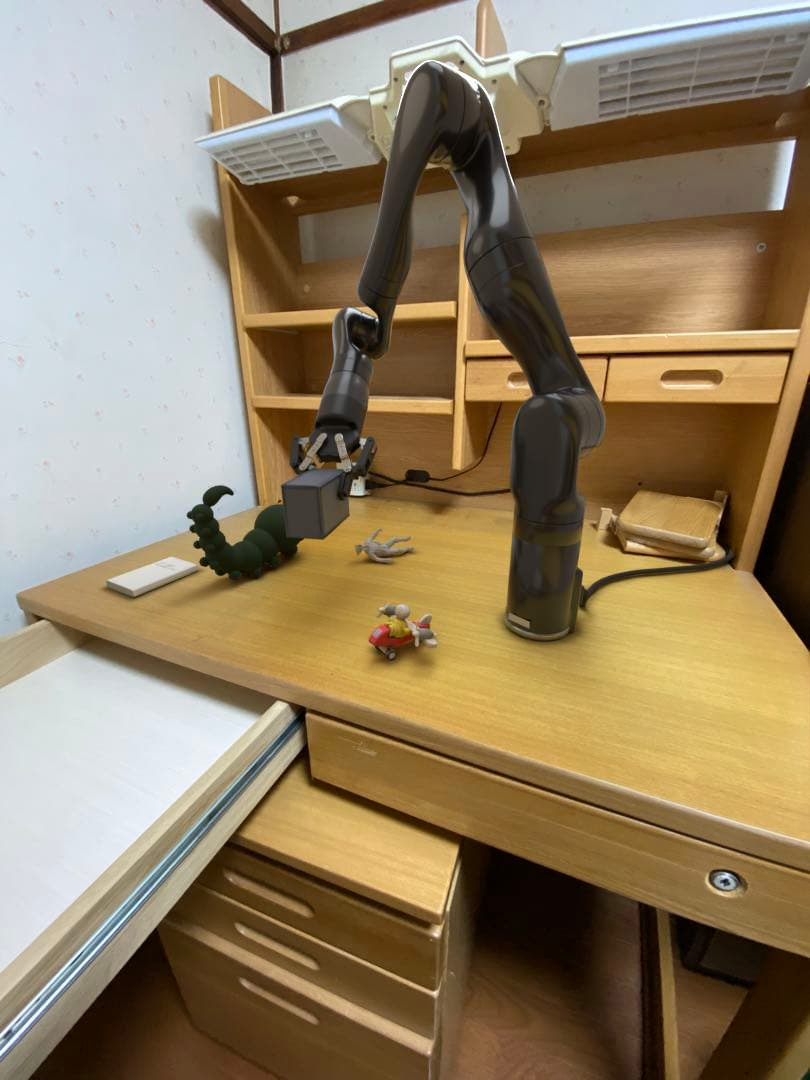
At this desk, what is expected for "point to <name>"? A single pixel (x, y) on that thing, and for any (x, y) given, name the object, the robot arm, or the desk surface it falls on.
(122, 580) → the hard drive
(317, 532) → the dark grey rectangular box
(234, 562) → the toy figurine
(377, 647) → the toy airplane
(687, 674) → the desk surface
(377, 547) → the soldier figure
